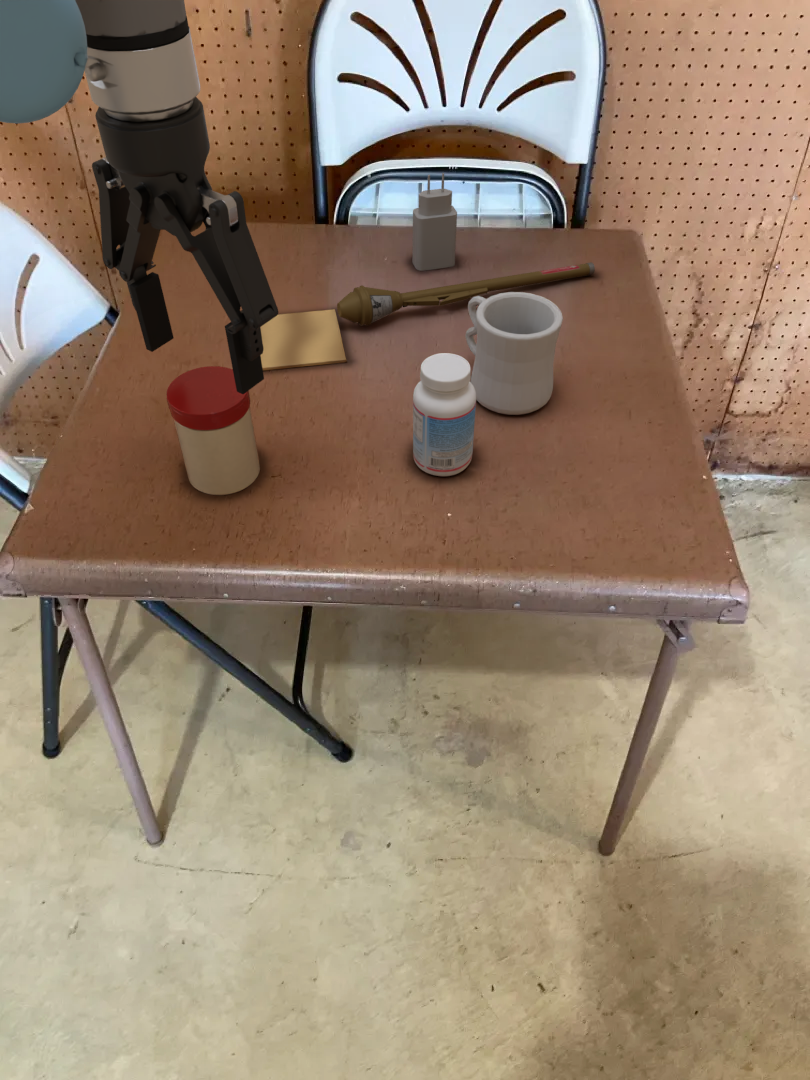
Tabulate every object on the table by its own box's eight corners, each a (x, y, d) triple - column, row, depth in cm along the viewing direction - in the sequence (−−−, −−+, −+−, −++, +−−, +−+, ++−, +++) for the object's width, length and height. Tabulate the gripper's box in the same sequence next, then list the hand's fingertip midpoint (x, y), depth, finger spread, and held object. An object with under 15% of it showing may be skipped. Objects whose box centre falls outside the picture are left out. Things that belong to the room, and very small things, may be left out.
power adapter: (411, 260, 114) (411, 171, 105) (449, 255, 115) (453, 166, 106) (417, 271, 112) (418, 181, 103) (456, 266, 113) (460, 176, 104)
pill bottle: (482, 452, 87) (490, 360, 78) (452, 486, 83) (458, 394, 75) (432, 432, 89) (435, 341, 81) (401, 464, 85) (400, 372, 77)
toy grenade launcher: (578, 274, 114) (595, 294, 111) (332, 314, 104) (345, 337, 101) (587, 242, 110) (605, 262, 108) (333, 281, 100) (346, 304, 97)
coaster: (250, 371, 96) (250, 369, 96) (246, 320, 104) (246, 317, 103) (346, 362, 98) (346, 359, 97) (335, 311, 105) (335, 309, 105)
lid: (168, 434, 76) (164, 418, 74) (169, 385, 81) (166, 370, 79) (252, 425, 77) (249, 409, 75) (248, 378, 82) (246, 362, 80)
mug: (568, 397, 93) (582, 318, 86) (507, 429, 89) (516, 348, 82) (494, 347, 100) (501, 269, 92) (434, 374, 96) (437, 295, 89)
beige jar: (187, 499, 82) (167, 422, 75) (187, 451, 87) (169, 375, 80) (262, 490, 83) (249, 413, 76) (258, 443, 87) (245, 367, 81)
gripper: (0, 84, 62) (85, 342, 78) (231, 158, 53) (273, 432, 69) (81, 56, 66) (145, 306, 82) (307, 120, 57) (330, 387, 73)
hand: (204, 363), depth 75 cm, fingers open, 10 cm apart
